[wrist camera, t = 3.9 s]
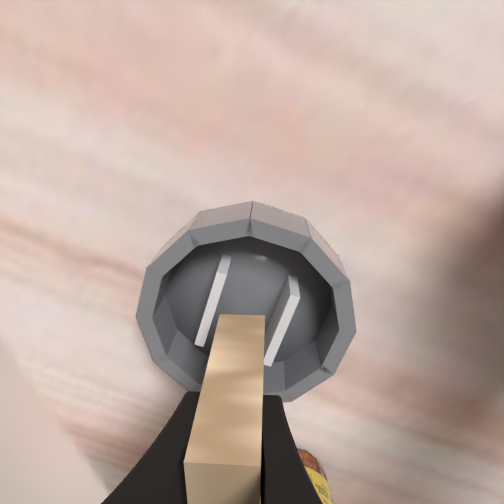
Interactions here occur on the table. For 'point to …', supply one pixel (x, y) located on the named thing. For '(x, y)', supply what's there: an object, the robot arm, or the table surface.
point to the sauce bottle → (316, 476)
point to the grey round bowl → (248, 296)
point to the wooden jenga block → (229, 417)
